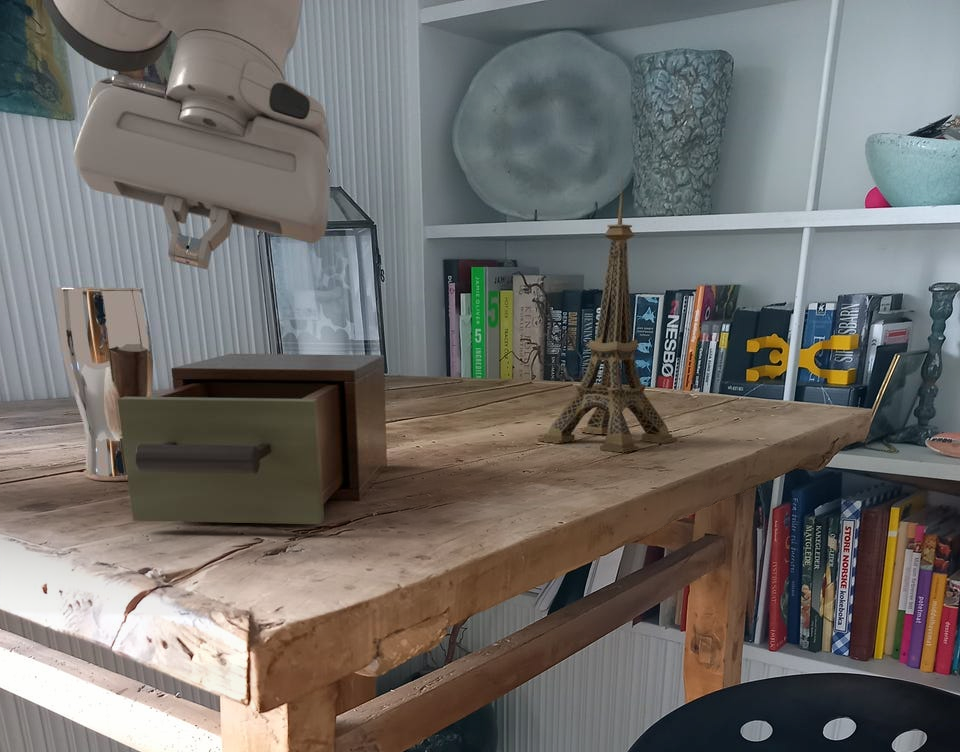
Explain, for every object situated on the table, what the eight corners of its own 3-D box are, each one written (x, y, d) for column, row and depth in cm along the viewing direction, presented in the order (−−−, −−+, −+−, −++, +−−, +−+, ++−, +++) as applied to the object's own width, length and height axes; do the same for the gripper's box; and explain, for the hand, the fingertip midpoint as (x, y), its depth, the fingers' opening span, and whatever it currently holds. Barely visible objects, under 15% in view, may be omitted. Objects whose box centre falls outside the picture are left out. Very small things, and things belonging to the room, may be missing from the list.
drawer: (303, 543, 56) (295, 411, 53) (101, 539, 57) (82, 408, 54) (356, 482, 73) (352, 379, 70) (200, 479, 74) (190, 377, 71)
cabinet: (359, 500, 71) (354, 370, 68) (184, 497, 72) (170, 368, 68) (387, 465, 85) (384, 355, 81) (239, 462, 85) (230, 353, 82)
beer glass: (62, 480, 78) (32, 287, 72) (112, 465, 84) (88, 287, 78) (137, 484, 76) (112, 288, 71) (182, 469, 82) (162, 287, 77)
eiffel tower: (594, 430, 106) (606, 185, 97) (677, 440, 99) (698, 179, 90) (538, 441, 98) (545, 177, 89) (623, 452, 92) (640, 169, 83)
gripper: (84, 43, 73) (44, 212, 72) (342, 110, 75) (306, 276, 74) (107, 93, 79) (71, 249, 78) (346, 154, 81) (312, 307, 80)
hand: (187, 262), depth 76 cm, fingers closed
